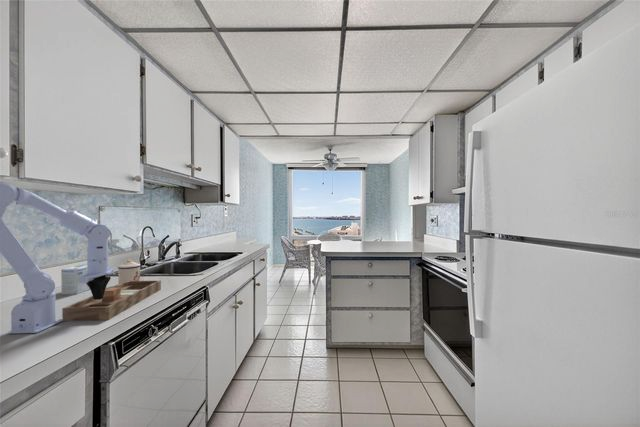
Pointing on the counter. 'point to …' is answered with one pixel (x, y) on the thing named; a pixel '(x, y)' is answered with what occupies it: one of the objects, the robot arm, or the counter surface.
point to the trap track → (107, 310)
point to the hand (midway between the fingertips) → (98, 299)
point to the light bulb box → (73, 280)
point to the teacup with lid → (128, 272)
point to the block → (111, 294)
